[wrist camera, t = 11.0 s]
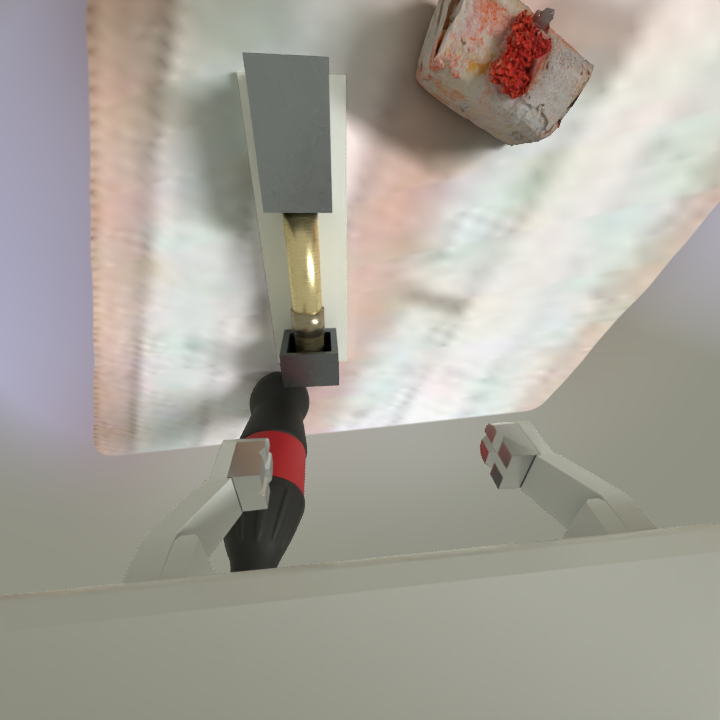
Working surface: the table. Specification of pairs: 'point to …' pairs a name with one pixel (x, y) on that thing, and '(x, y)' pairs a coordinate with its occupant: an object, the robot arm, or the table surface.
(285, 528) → the cola bottle
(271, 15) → the table surface
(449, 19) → the food item
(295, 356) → the socket
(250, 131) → the base
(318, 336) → the tube
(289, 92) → the grey tapered slab
